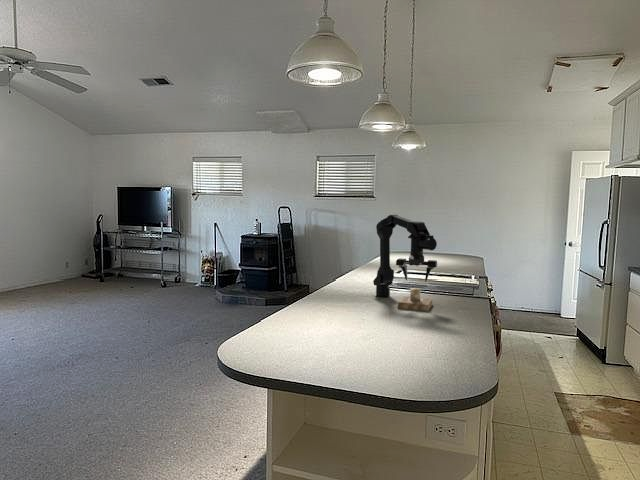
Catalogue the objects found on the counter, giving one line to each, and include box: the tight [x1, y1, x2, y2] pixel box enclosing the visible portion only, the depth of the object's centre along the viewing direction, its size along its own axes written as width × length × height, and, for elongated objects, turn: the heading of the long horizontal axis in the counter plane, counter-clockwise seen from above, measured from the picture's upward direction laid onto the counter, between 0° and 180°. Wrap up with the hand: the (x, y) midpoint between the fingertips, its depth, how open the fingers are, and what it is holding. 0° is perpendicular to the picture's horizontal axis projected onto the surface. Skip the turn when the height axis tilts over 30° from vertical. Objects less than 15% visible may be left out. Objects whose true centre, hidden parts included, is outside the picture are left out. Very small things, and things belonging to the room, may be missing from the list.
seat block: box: [397, 295, 433, 312], centre depth 216 cm, size 14×14×3 cm
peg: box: [409, 287, 421, 302], centre depth 215 cm, size 5×5×8 cm
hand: (416, 280), depth 215 cm, fingers open, 9 cm apart
